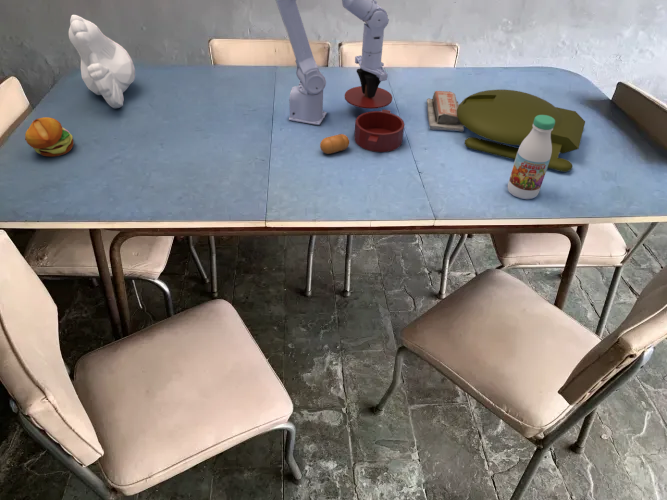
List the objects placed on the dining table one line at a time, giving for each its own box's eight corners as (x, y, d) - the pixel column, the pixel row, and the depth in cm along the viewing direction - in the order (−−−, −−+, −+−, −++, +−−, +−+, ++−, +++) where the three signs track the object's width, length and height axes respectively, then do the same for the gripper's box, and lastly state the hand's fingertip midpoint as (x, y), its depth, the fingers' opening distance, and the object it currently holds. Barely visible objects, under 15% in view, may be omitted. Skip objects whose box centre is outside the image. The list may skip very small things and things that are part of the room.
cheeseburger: (85, 142, 148) (70, 113, 140) (62, 169, 142) (44, 141, 134) (54, 134, 150) (37, 105, 142) (30, 161, 144) (10, 132, 136)
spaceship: (582, 126, 165) (593, 95, 158) (569, 176, 143) (582, 143, 137) (468, 100, 175) (474, 71, 169) (440, 143, 154) (446, 111, 148)
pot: (346, 152, 149) (347, 134, 145) (363, 120, 163) (364, 103, 159) (395, 160, 146) (397, 142, 143) (407, 128, 160) (409, 111, 157)
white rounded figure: (89, 56, 175) (43, 8, 150) (137, 47, 174) (99, -2, 150) (95, 129, 170) (49, 92, 146) (145, 119, 170) (107, 81, 145)
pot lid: (338, 106, 161) (339, 91, 158) (351, 86, 172) (352, 71, 169) (386, 114, 159) (388, 98, 156) (396, 93, 169) (397, 78, 166)
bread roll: (324, 158, 146) (325, 143, 143) (317, 150, 149) (317, 136, 146) (351, 151, 149) (352, 137, 146) (343, 143, 152) (344, 129, 149)
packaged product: (428, 88, 170) (460, 90, 170) (425, 102, 173) (457, 104, 173) (431, 115, 156) (466, 117, 156) (429, 130, 160) (463, 132, 159)
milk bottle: (502, 182, 140) (523, 110, 127) (531, 182, 141) (555, 110, 128) (512, 200, 134) (535, 127, 121) (542, 199, 135) (568, 126, 122)
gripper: (398, 56, 152) (393, 102, 161) (370, 38, 161) (367, 82, 170) (376, 60, 149) (372, 106, 158) (349, 42, 159) (347, 87, 168)
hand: (368, 94), depth 164 cm, fingers closed on pot lid, 2 cm apart
